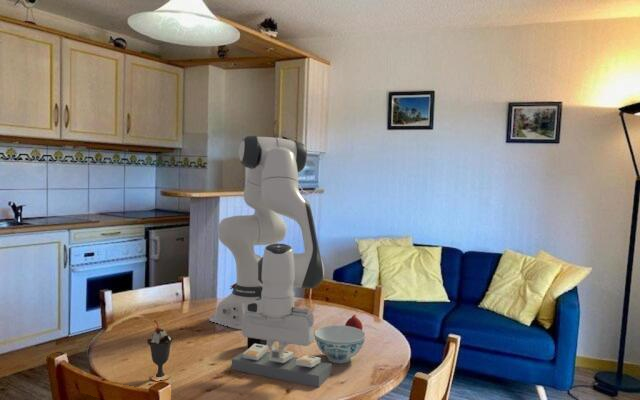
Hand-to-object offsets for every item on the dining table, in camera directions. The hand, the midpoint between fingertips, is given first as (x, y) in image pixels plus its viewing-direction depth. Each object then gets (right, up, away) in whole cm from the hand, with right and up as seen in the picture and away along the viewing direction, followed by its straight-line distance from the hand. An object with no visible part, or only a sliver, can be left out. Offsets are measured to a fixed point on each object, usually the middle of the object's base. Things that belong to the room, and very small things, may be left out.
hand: (277, 357), depth 131 cm
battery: (-8, -4, +21) cm, 23 cm away
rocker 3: (+8, -2, 0) cm, 9 cm away
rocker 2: (+1, -1, +3) cm, 4 cm away
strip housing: (+1, -5, +3) cm, 6 cm away
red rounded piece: (+23, -4, +32) cm, 40 cm away
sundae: (-31, -5, -2) cm, 31 cm away
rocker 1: (-6, -1, +6) cm, 9 cm away
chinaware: (+17, -5, +14) cm, 23 cm away
